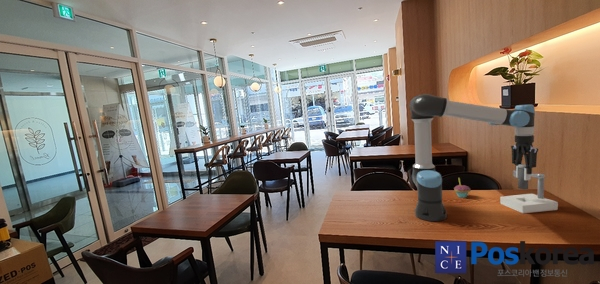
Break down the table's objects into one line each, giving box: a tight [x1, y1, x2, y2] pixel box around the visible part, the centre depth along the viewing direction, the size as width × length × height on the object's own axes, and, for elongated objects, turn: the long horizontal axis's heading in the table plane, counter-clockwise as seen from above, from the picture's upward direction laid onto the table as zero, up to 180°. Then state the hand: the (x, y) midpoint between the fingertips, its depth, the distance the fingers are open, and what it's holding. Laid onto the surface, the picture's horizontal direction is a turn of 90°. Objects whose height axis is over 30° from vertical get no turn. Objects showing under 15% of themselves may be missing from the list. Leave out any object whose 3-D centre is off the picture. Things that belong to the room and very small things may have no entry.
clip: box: [512, 169, 546, 180], centre depth 140 cm, size 15×3×4 cm, turn 15°
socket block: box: [499, 178, 559, 214], centre depth 135 cm, size 18×14×15 cm
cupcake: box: [453, 177, 471, 199], centre depth 158 cm, size 9×8×12 cm
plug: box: [517, 163, 529, 190], centre depth 134 cm, size 4×4×12 cm
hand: (523, 178), depth 134 cm, fingers closed on plug, 4 cm apart
